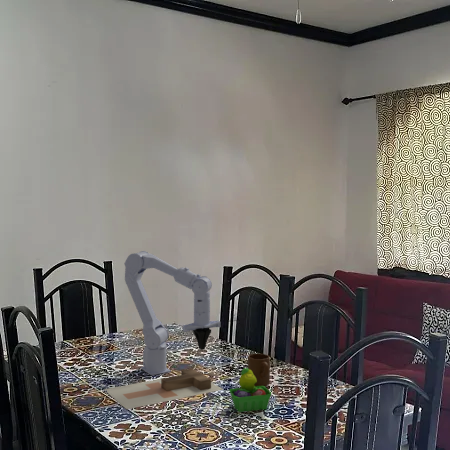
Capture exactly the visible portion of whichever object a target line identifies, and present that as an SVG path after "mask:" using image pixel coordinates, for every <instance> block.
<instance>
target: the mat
mask: <svg viewBox="0 0 450 450" xmlns="http://www.w3.org/2000/svg"><path fill="white" fill-rule="evenodd" d="M161 379H162V378H159V379H154V380H148V381H142V382H137V383H131V384H125V385H120V386H115V387H109V388H104V389H103V391H105V392H106V390H107V392H108V395H110V396H111V397H112V398H113V399H114V400H115V401H116V402H117V403H118V404H119V405H121V406H122V407H123V408H124V409H125V410H131V409H134V408H135V409H136V408H140V407H145V406H149V405H150V406H151V405H155V404H158V403H159V404H160V403H164V402H170V401H174V400H175V401H176V400H179V399H185V398H189V397H193V396H198V395H199V396H200V395H204V394H209V393H213V392H219V391H223V390H224V388H222V387H220V386H219V385H217V384H215V383H214V382H211V388H210V389H205V390H199V389H198V388H196V387H194V386H191V387H185V388H180V389H175V390H170V391H166V390H164V389H163V388H161ZM107 392H106V393H107Z"/></svg>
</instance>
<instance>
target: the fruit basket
mask: <svg viewBox="0 0 450 450" xmlns="http://www.w3.org/2000/svg"><path fill="white" fill-rule="evenodd" d="M240 373H241V374H240V376H239V379H238V383H239V386H240V387H235V388H230V389H229V393H230V396H231V400H232V403H233V407H234V408H235V409H236V411H237V412H238V413H244V412H251V411H260V410H261V411H262V410H263V411H264V410H267V409H268V406H269V402H270V398H271V396H272V392H271V391H270V390H269V389H268V388H267V386H254V384H255V383H256V382H257V380H256V377H255V376H254V374H253V372H252V371H251V370H249V369H248V367H245V368H243V369H242V370H241V372H240Z"/></svg>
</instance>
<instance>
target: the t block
mask: <svg viewBox="0 0 450 450" xmlns="http://www.w3.org/2000/svg"><path fill="white" fill-rule="evenodd" d="M160 379H161V388H163V389H164V390H166V391H170V390H175V389H180V388H185V387H191V386H194V387H196V388H198V389H199V390H205V389H210V388H211V383H212V379H211V378H210V377H208V376H206V375H205V374H202V373H201V372H199V371H198V370H195V369H194V368H192V367H190V368H185V369H181V371H180V375H175V376H170V377H169V376H168V377H163V378H160Z"/></svg>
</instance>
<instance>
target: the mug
mask: <svg viewBox="0 0 450 450" xmlns="http://www.w3.org/2000/svg"><path fill="white" fill-rule="evenodd" d="M270 359H271V358H270V355H269V354H265V353H251V354H249V355H248V356H247V368H248V369H249V370H251V371H252V372H253V374H254V376H255V377H256V380H257V382H256V383H255V384H254V386H265V387H267V386H268V385H270V383H271V377H270V376H271V361H270Z"/></svg>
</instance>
